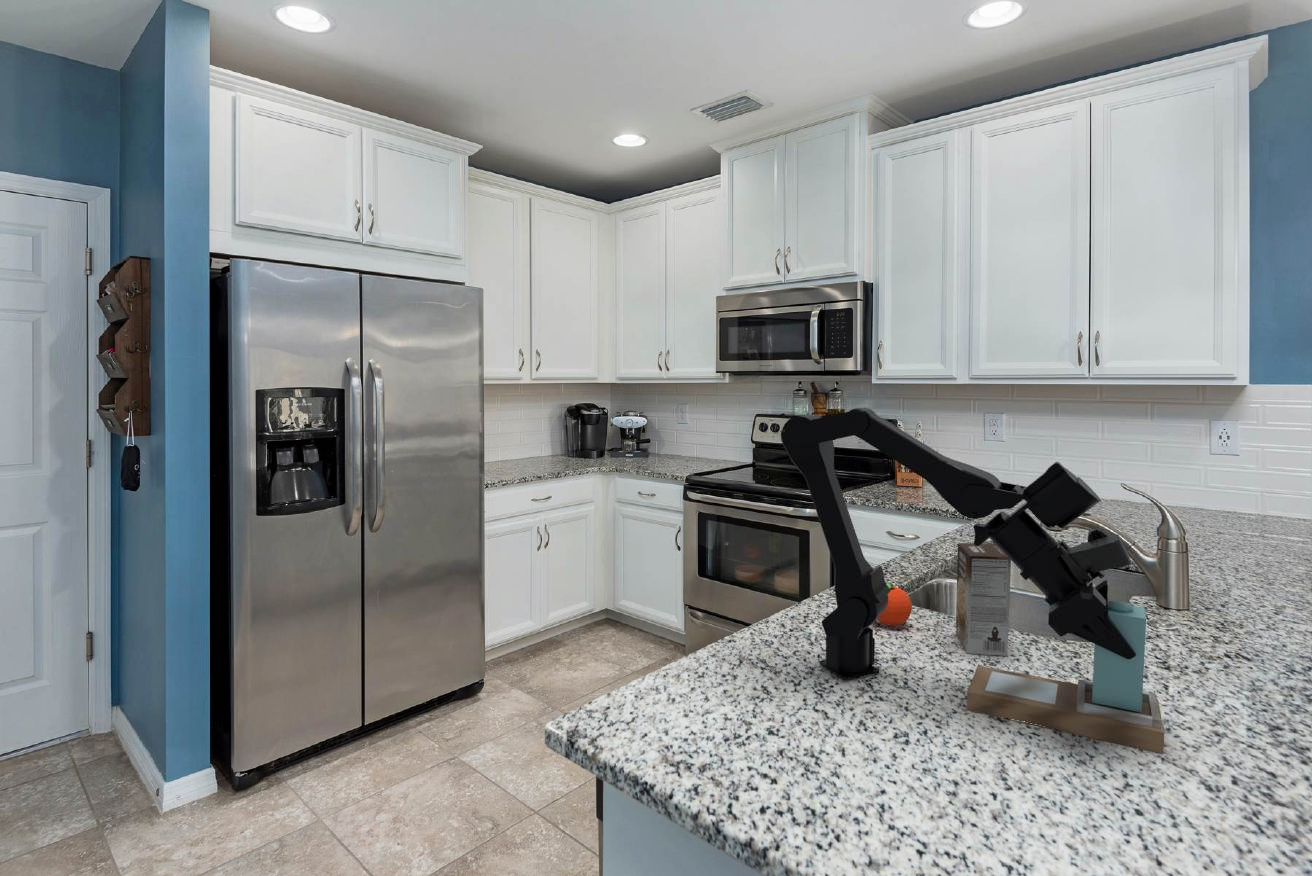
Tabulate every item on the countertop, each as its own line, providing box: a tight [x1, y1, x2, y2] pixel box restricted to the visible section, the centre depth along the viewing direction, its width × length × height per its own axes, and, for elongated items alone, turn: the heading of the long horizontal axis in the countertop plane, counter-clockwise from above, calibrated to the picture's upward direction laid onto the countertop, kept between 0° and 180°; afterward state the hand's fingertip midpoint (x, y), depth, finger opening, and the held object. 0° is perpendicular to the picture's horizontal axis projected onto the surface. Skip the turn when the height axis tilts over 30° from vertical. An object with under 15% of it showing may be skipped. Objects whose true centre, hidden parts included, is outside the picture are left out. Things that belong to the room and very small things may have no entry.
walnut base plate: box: [966, 665, 1165, 754], centre depth 90 cm, size 21×10×4 cm, turn 58°
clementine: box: [876, 584, 913, 627], centre depth 125 cm, size 8×7×7 cm
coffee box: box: [955, 542, 1012, 657], centre depth 114 cm, size 9×6×16 cm
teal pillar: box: [1092, 600, 1147, 712], centre depth 87 cm, size 5×5×12 cm
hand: (1131, 650), depth 86 cm, fingers closed on teal pillar, 5 cm apart
